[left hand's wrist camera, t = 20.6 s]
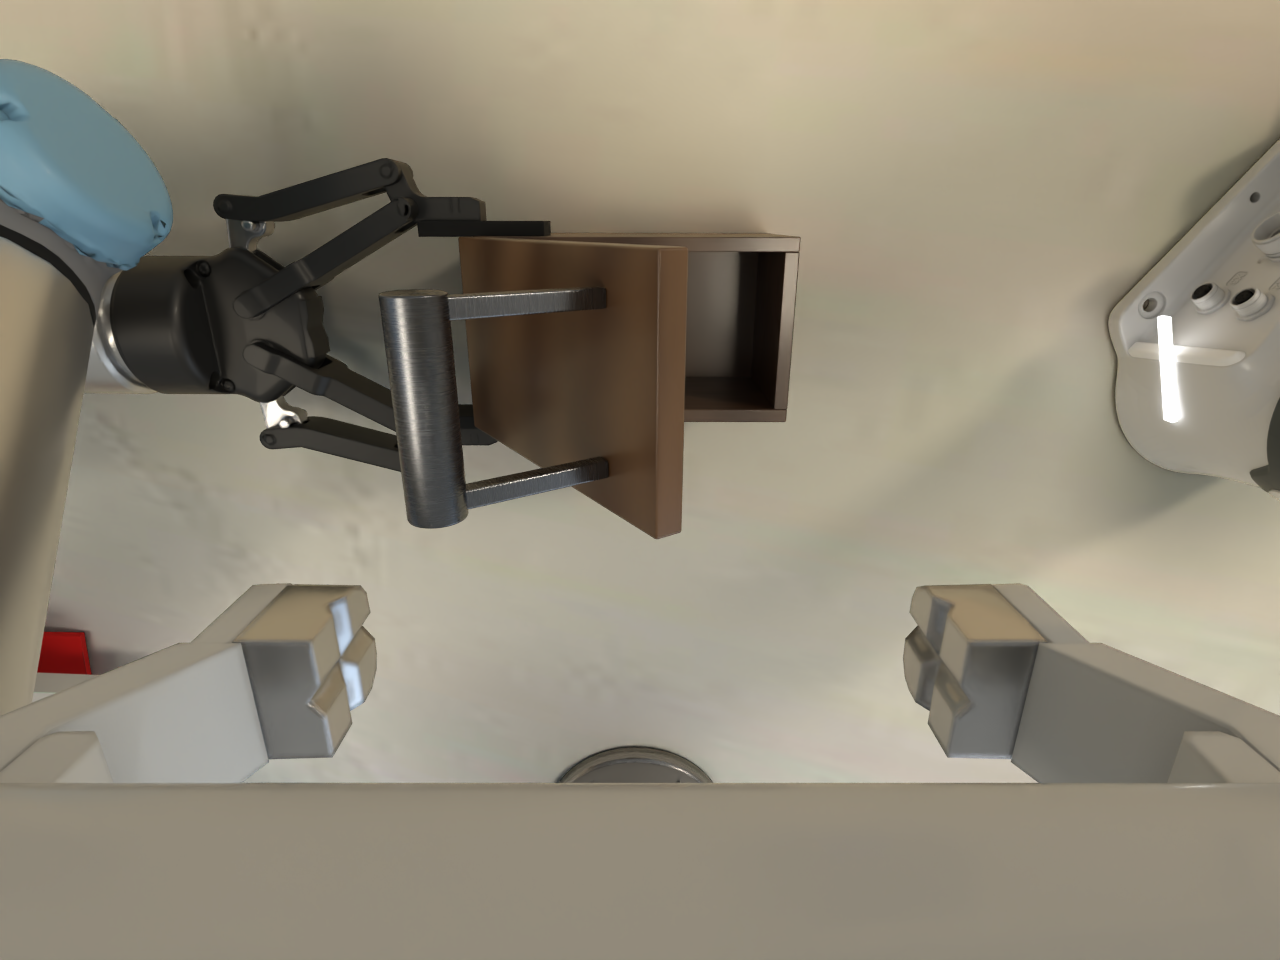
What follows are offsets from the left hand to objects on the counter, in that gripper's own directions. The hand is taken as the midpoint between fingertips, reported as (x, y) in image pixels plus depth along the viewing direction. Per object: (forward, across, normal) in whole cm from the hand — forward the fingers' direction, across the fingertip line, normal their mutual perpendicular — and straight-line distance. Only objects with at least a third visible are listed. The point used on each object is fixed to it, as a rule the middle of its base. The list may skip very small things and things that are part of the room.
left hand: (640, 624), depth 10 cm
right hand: (+30, -5, 0) cm, 31 cm away
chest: (+37, 0, 0) cm, 37 cm away
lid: (+21, -3, 0) cm, 21 cm away
